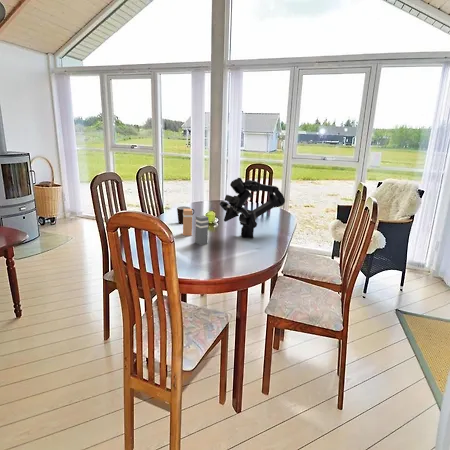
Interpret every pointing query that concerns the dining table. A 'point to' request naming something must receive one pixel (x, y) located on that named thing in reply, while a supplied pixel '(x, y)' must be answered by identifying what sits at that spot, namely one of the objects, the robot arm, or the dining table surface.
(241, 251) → the dining table surface
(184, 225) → the post one band
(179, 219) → the coffee mug
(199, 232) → the post two bands
